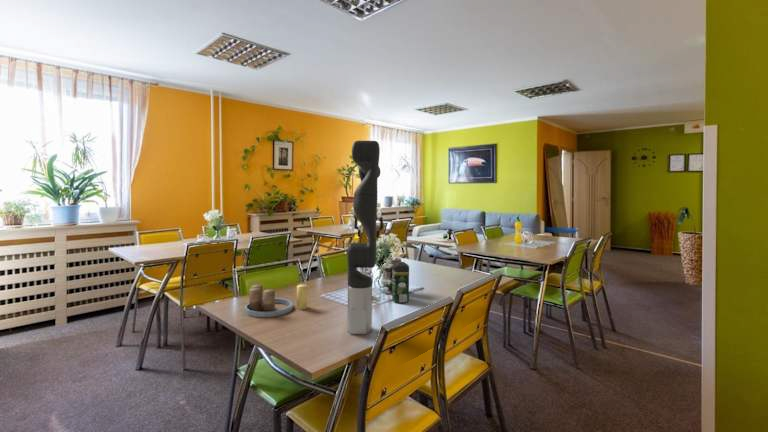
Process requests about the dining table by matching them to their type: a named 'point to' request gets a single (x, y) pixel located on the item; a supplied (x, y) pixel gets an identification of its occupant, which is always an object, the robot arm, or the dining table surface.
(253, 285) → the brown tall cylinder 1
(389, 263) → the apothecary jar
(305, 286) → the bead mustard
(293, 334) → the dining table surface
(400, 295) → the coffee jar
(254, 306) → the brown cylinder
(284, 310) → the tray
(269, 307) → the brown cylinder
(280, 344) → the dining table surface
